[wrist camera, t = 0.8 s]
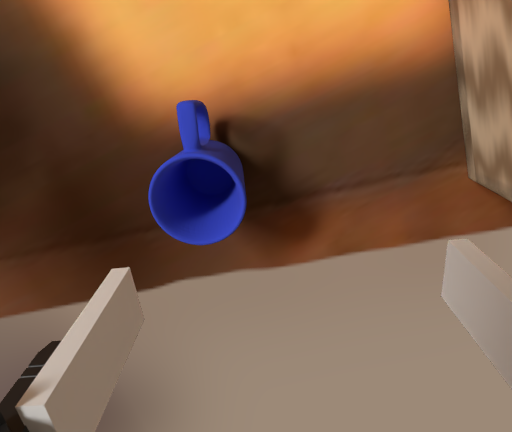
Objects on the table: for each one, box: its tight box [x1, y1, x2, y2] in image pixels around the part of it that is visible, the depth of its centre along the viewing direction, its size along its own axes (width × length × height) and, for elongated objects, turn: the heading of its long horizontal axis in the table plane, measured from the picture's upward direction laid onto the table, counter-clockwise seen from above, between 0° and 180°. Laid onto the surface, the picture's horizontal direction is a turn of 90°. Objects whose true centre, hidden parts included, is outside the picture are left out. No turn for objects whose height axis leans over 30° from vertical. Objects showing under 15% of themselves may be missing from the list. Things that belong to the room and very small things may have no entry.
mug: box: [148, 100, 247, 245], centre depth 34 cm, size 8×12×10 cm
